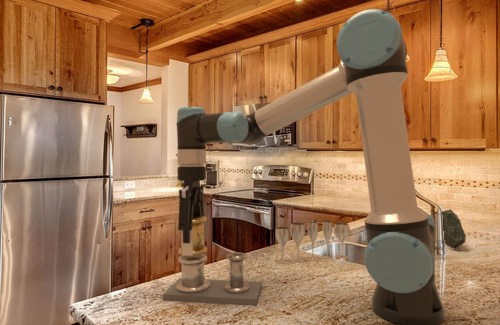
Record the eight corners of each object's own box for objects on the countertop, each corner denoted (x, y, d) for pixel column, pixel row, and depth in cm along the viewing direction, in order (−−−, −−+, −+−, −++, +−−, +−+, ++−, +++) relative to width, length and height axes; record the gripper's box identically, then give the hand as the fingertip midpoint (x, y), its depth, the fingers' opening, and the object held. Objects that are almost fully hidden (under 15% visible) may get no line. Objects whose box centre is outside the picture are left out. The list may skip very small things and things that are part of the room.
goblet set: (279, 265, 118) (278, 226, 118) (273, 260, 123) (273, 223, 123) (353, 258, 125) (353, 221, 125) (344, 254, 131) (344, 218, 131)
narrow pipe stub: (250, 285, 96) (250, 252, 96) (246, 294, 89) (246, 258, 89) (227, 284, 97) (227, 251, 96) (222, 292, 90) (221, 257, 90)
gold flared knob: (210, 248, 98) (209, 215, 98) (202, 255, 90) (202, 220, 90) (183, 247, 99) (183, 215, 99) (174, 254, 91) (173, 220, 91)
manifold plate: (262, 287, 98) (262, 282, 98) (256, 305, 86) (256, 299, 86) (179, 283, 102) (179, 278, 102) (163, 300, 90) (162, 294, 90)
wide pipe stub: (213, 281, 99) (213, 253, 98) (204, 294, 90) (204, 262, 90) (182, 280, 100) (182, 252, 100) (170, 292, 91) (170, 261, 91)
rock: (443, 249, 148) (433, 216, 152) (459, 247, 146) (448, 213, 151) (452, 246, 132) (441, 209, 136) (470, 244, 130) (458, 206, 135)
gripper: (190, 164, 105) (191, 241, 105) (163, 166, 85) (164, 261, 85) (214, 164, 104) (215, 242, 104) (193, 166, 84) (194, 262, 84)
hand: (192, 250), depth 95 cm, fingers closed on gold flared knob, 8 cm apart
